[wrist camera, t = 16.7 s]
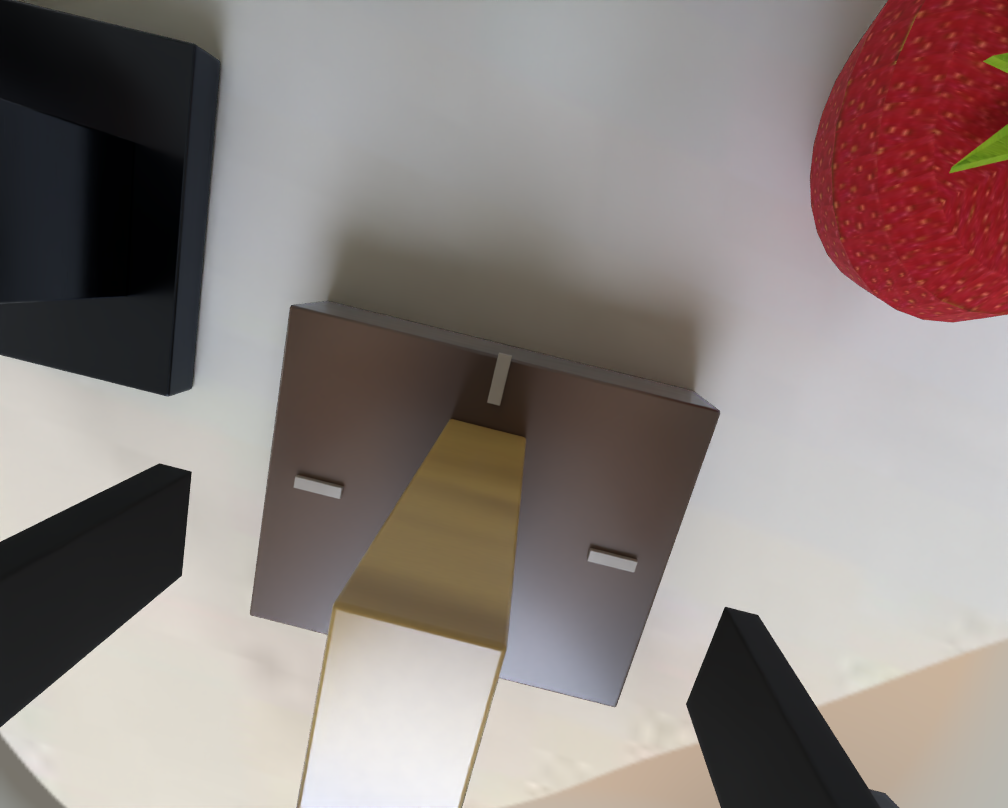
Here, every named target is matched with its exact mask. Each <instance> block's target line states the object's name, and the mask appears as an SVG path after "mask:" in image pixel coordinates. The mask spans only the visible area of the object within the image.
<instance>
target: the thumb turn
mask: <svg viewBox="0 0 1008 808" xmlns="http://www.w3.org/2000/svg"><path fill="white" fill-rule="evenodd" d="M525 447H526V438H525V437H522V436H518V435H514V434H510V433H506V432H502V431H498V430H494V429H490V428H486V427H482V426H478V425H474V424H470V423H466V422H462V421H458V420H454V419H450V420H449V422H448V423H447V425H446V426H445V428H444V430H443V431H442V433H441V434H440V436H439V437H438V439H437V441H436V442H435V444H434V445H433V447H432V449H431V450H430V452H429V453H428V455H427V456H426V458H425V460H424V461H423V463H422V464H421V466H420V467H419V469H418V471H417V472H416V474H415V475H414V477H413V479H412V480H411V482H410V483H409V485H408V486H407V488H406V490H405V491H404V493H403V494H402V496H401V498H400V499H399V501H398V502H397V504H396V505H395V507H394V509H393V510H392V512H391V513H390V515H389V517H388V518H387V520H386V521H385V523H384V524H383V526H382V528H381V529H380V531H379V532H378V534H377V536H376V537H375V539H374V540H373V542H372V543H371V545H370V547H369V548H368V550H367V551H366V553H365V555H364V556H363V558H362V559H361V561H360V562H359V564H358V566H357V567H356V569H355V570H354V572H353V574H352V575H351V577H350V578H349V580H348V581H347V583H346V585H345V586H344V588H343V589H342V591H341V593H340V594H339V596H338V597H337V599H336V600H335V602H334V604H333V607H332V612H331V618H330V623H329V629H328V635H327V640H326V646H325V651H324V657H323V662H322V668H321V673H320V679H319V684H318V690H317V696H316V701H315V707H314V712H313V718H312V723H311V729H310V734H309V740H308V745H307V751H306V757H305V762H304V768H303V773H302V779H301V784H300V790H299V795H298V801H297V806H296V808H462V806H463V802H464V799H465V795H466V792H467V788H468V785H469V781H470V778H471V774H472V770H473V767H474V763H475V760H476V756H477V753H478V749H479V746H480V742H481V739H482V735H483V732H484V728H485V725H486V721H487V718H488V714H489V711H490V707H491V704H492V700H493V697H494V693H495V690H496V686H497V683H498V679H499V676H500V672H501V669H502V665H503V661H504V658H505V654H506V651H507V644H508V633H509V622H510V611H511V601H512V590H513V579H514V568H515V557H516V546H517V535H518V524H519V513H520V502H521V491H522V480H523V469H524V458H525Z"/></svg>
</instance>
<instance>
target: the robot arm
mask: <svg viewBox="0 0 1008 808" xmlns="http://www.w3.org/2000/svg"><path fill="white" fill-rule="evenodd" d="M191 473H192V472H191V471H187V470H183V469H179V468H175V467H171V466H167V465H163V464H157V465H155V466H153V467H151V468H149V469H147V470H145V471H143V472H141V473H139V474H137V475H135V476H133V477H131V478H129V479H127V480H125V481H123V482H121V483H119V484H117V485H115V486H113V487H111V488H109V489H107V490H105V491H103V492H100V493H98V494H96V495H94V496H92V497H90V498H88V499H86V500H84V501H82V502H80V503H78V504H76V505H74V506H72V507H70V508H68V509H66V510H64V511H62V512H60V513H58V514H56V515H54V516H52V517H50V518H48V519H46V520H44V521H42V522H40V523H38V524H36V525H34V526H32V527H30V528H28V529H26V530H24V531H21V532H19V533H17V534H15V535H13V536H11V537H9V538H7V539H5V540H3V541H1V542H0V727H1V726H2V725H4V724H5V723H6V722H7V721H8V720H10V719H11V718H12V717H13V716H14V715H16V714H17V713H18V712H19V711H20V710H22V709H23V708H24V707H25V706H26V705H27V704H29V703H30V702H31V701H32V700H33V699H35V698H36V697H37V696H38V695H39V694H41V693H42V692H43V691H44V690H45V689H47V688H48V687H49V686H50V685H51V684H53V683H54V682H55V681H56V680H57V679H59V678H60V677H61V676H62V675H63V674H65V673H66V672H67V671H68V670H69V669H71V668H72V667H73V666H74V665H75V664H77V663H78V662H79V661H80V660H81V659H83V658H84V657H85V656H86V655H87V654H88V653H90V652H91V651H92V650H93V649H94V648H96V647H97V646H98V645H99V644H100V643H102V642H103V641H104V640H105V639H106V638H108V637H109V636H110V635H111V634H112V633H114V632H115V631H116V630H117V629H118V628H120V627H121V626H122V625H123V624H124V623H126V622H127V621H128V620H129V619H130V618H132V617H133V616H134V615H135V614H136V613H138V612H139V611H140V610H141V609H142V608H144V607H145V606H146V605H147V604H148V603H149V602H151V601H152V600H153V599H154V598H155V597H157V596H158V595H159V594H160V593H161V592H163V591H164V590H165V589H166V588H167V587H169V586H170V585H171V584H172V583H173V582H175V581H176V580H177V579H178V578H179V577H181V576H182V568H183V557H184V547H185V536H186V526H187V515H188V505H189V494H190V484H191ZM686 705H687V708H688V711H689V714H690V717H691V720H692V723H693V726H694V729H695V732H696V735H697V738H698V741H699V744H700V747H701V750H702V753H703V756H704V759H705V762H706V765H707V768H708V770H709V774H710V777H711V779H712V783H713V785H714V788H715V791H716V794H717V797H718V800H719V803H720V806H721V808H899V807H898V806H897V805H896V804H895V803H894V802H893V801H892V800H891V799H890V798H889V797H888V796H887V795H886V794H885V793H882V792H878V791H874V790H870V789H868V787H867V785H866V784H865V782H864V781H863V779H862V778H861V776H860V775H859V773H858V771H857V770H856V768H855V767H854V765H853V764H852V762H851V760H850V759H849V757H848V756H847V754H846V753H845V751H844V749H843V748H842V746H841V745H840V743H839V741H838V740H837V738H836V737H835V735H834V734H833V732H832V731H831V729H830V727H829V726H828V724H827V723H826V721H825V719H824V718H823V716H822V715H821V713H820V712H819V710H818V708H817V707H816V705H815V704H814V702H813V701H812V699H811V698H810V696H809V694H808V693H807V691H806V690H805V688H804V687H803V685H802V683H801V682H800V680H799V679H798V677H797V676H796V674H795V672H794V671H793V669H792V668H791V666H790V665H789V663H788V661H787V660H786V658H785V657H784V655H783V654H782V652H781V650H780V649H779V647H778V646H777V644H776V643H775V641H774V639H773V638H772V636H771V635H770V633H769V632H768V630H767V628H766V627H765V625H764V624H763V622H762V621H761V619H760V617H759V616H758V615H755V614H751V613H748V612H744V611H740V610H736V609H732V608H728V607H725V608H724V611H723V613H722V616H721V618H720V621H719V623H718V626H717V628H716V631H715V633H714V636H713V638H712V641H711V643H710V646H709V648H708V651H707V653H706V656H705V658H704V661H703V663H702V666H701V668H700V671H699V673H698V676H697V678H696V681H695V683H694V686H693V688H692V691H691V693H690V696H689V698H688V701H687V703H686Z"/></svg>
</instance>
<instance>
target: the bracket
mask: <svg viewBox="0 0 1008 808" xmlns="http://www.w3.org/2000/svg"><path fill="white" fill-rule="evenodd" d="M219 74H220V61H219V60H218V59H216V58H215V57H213V56H212V55H210V54H209V53H207V52H206V51H204V50H203V49H201V48H200V47H198V46H197V45H195V44H193V43H189V42H185V41H181V40H177V39H172V38H168V37H164V36H160V35H156V34H152V33H148V32H143V31H139V30H135V29H131V28H127V27H123V26H119V25H115V24H110V23H106V22H102V21H98V20H94V19H90V18H86V17H81V16H77V15H73V14H69V13H65V12H61V11H57V10H53V9H48V8H44V7H40V6H36V5H32V4H28V3H24V2H19V1H15V0H0V355H3V356H7V357H11V358H15V359H19V360H23V361H27V362H31V363H35V364H39V365H43V366H47V367H51V368H55V369H59V370H63V371H67V372H71V373H75V374H80V375H84V376H88V377H92V378H96V379H100V380H104V381H108V382H112V383H116V384H120V385H124V386H128V387H132V388H136V389H140V390H144V391H148V392H152V393H156V394H160V395H164V396H172V395H175V394H178V393H181V392H184V391H187V390H190V389H191V388H192V382H193V370H194V359H195V348H196V336H197V325H198V313H199V302H200V290H201V279H202V268H203V256H204V245H205V233H206V222H207V211H208V199H209V188H210V176H211V165H212V154H213V142H214V131H215V119H216V108H217V97H218V85H219Z"/></svg>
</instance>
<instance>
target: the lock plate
mask: <svg viewBox="0 0 1008 808" xmlns="http://www.w3.org/2000/svg"><path fill="white" fill-rule="evenodd" d="M719 415H720V411H719V410H718V409H717V408H715V407H714V406H713V405H712V404H710V403H709V402H708V401H706V400H705V399H704V398H702V397H701V396H700V395H698V394H697V393H696V392H694V391H692V390H688V389H684V388H680V387H676V386H672V385H667V384H663V383H659V382H655V381H651V380H647V379H643V378H639V377H635V376H631V375H627V374H623V373H619V372H615V371H611V370H607V369H602V368H598V367H594V366H590V365H586V364H582V363H578V362H574V361H570V360H566V359H562V358H558V357H554V356H550V355H546V354H542V353H537V352H533V351H529V350H525V349H521V348H517V347H513V346H509V345H505V344H501V343H497V342H493V341H489V340H485V339H481V338H477V337H472V336H468V335H464V334H460V333H456V332H452V331H448V330H444V329H440V328H436V327H432V326H428V325H424V324H420V323H416V322H412V321H407V320H403V319H399V318H395V317H391V316H387V315H383V314H379V313H375V312H371V311H367V310H363V309H359V308H355V307H351V306H346V305H342V304H338V303H334V302H330V301H322V302H314V303H305V304H297V305H291V307H290V312H289V319H288V327H287V335H286V342H285V350H284V357H283V365H282V373H281V380H280V388H279V396H278V403H277V411H276V418H275V426H274V434H273V441H272V449H271V457H270V464H269V472H268V479H267V487H266V495H265V502H264V510H263V518H262V525H261V533H260V540H259V548H258V556H257V563H256V571H255V578H254V586H253V594H252V601H251V609H250V615H252V616H256V617H260V618H264V619H268V620H272V621H276V622H280V623H284V624H288V625H292V626H296V627H300V628H304V629H307V630H311V631H315V632H319V633H323V634H327V635H328V629H329V623H330V618H331V612H332V607H333V604H334V602H335V600H336V599H337V597H338V596H339V594H340V593H341V591H342V589H343V588H344V586H345V585H346V583H347V581H348V580H349V578H350V577H351V575H352V574H353V572H354V570H355V569H356V567H357V566H358V564H359V562H360V561H361V559H362V558H363V556H364V555H365V553H366V551H367V550H368V548H369V547H370V545H371V543H372V542H373V540H374V539H375V537H376V536H377V534H378V532H379V531H380V529H381V528H382V526H383V524H384V523H385V521H386V520H387V518H388V517H389V515H390V513H391V512H392V510H393V509H394V507H395V505H396V504H397V502H398V501H399V499H400V498H401V496H402V494H403V493H404V491H405V490H406V488H407V486H408V485H409V483H410V482H411V480H412V479H413V477H414V475H415V474H416V472H417V471H418V469H419V467H420V466H421V464H422V463H423V461H424V460H425V458H426V456H427V455H428V453H429V452H430V450H431V449H432V447H433V445H434V444H435V442H436V441H437V439H438V437H439V436H440V434H441V433H442V431H443V430H444V428H445V426H446V425H447V423H448V422H449V420H450V419H454V420H458V421H462V422H466V423H470V424H474V425H478V426H482V427H486V428H490V429H494V430H498V431H502V432H506V433H510V434H514V435H518V436H522V437H525V438H526V447H525V458H524V469H523V480H522V491H521V502H520V513H519V524H518V535H517V546H516V557H515V568H514V579H513V590H512V601H511V611H510V622H509V633H508V644H507V651H506V654H505V658H504V661H503V665H502V669H501V672H500V676H499V678H501V679H505V680H509V681H513V682H517V683H521V684H525V685H529V686H533V687H537V688H541V689H545V690H549V691H553V692H557V693H561V694H565V695H569V696H573V697H577V698H581V699H585V700H589V701H593V702H597V703H600V704H604V705H608V706H612V707H616V706H617V703H618V700H619V697H620V694H621V692H622V689H623V686H624V683H625V680H626V678H627V675H628V672H629V669H630V666H631V663H632V661H633V658H634V655H635V652H636V649H637V646H638V644H639V641H640V638H641V635H642V632H643V630H644V627H645V624H646V621H647V618H648V615H649V613H650V610H651V607H652V604H653V601H654V599H655V596H656V593H657V590H658V587H659V584H660V582H661V579H662V576H663V573H664V570H665V567H666V565H667V562H668V559H669V556H670V553H671V551H672V548H673V545H674V542H675V539H676V536H677V534H678V531H679V528H680V525H681V522H682V520H683V517H684V514H685V511H686V508H687V505H688V503H689V500H690V497H691V494H692V491H693V489H694V486H695V483H696V480H697V477H698V474H699V472H700V469H701V466H702V463H703V460H704V457H705V455H706V452H707V449H708V446H709V443H710V441H711V438H712V435H713V432H714V429H715V426H716V424H717V421H718V418H719Z"/></svg>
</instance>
